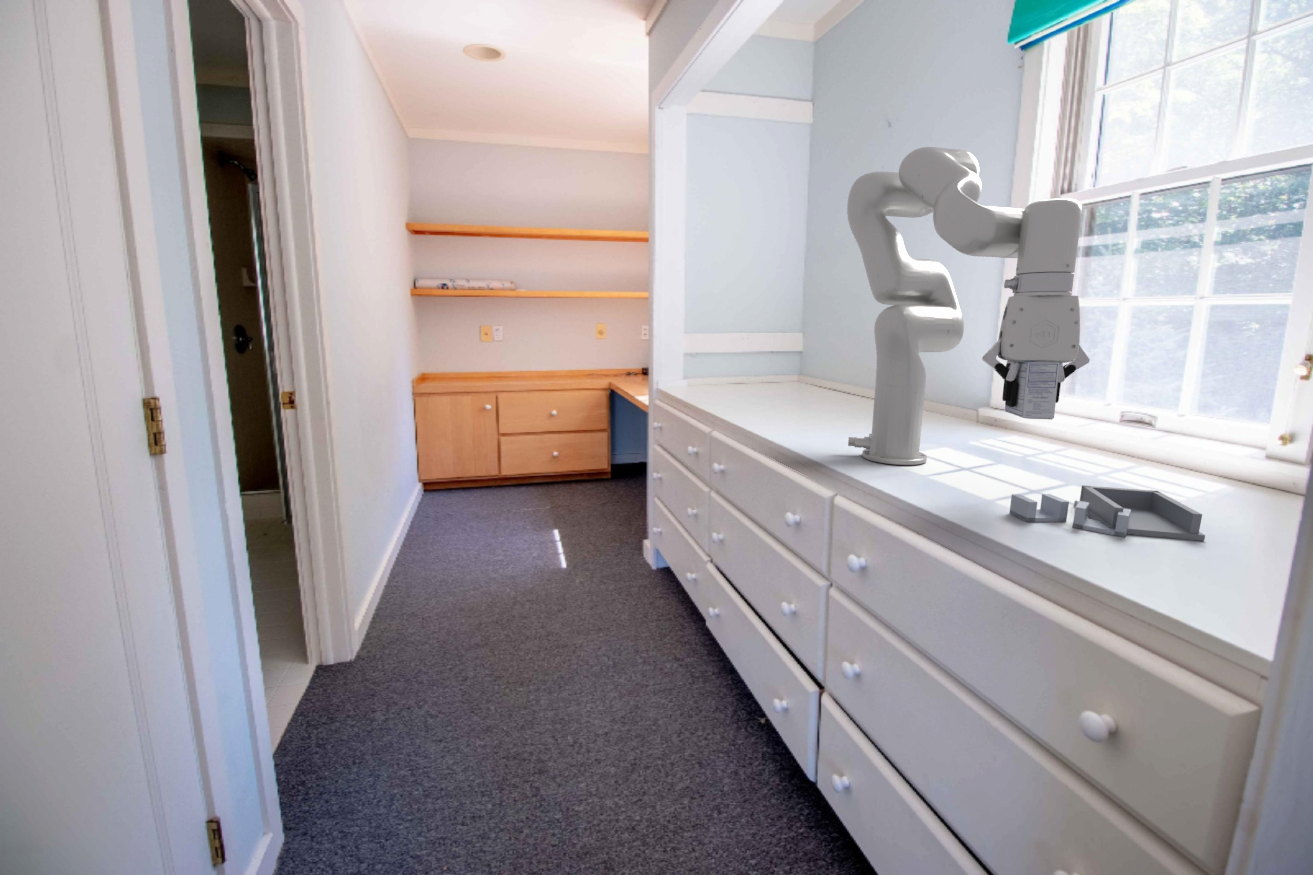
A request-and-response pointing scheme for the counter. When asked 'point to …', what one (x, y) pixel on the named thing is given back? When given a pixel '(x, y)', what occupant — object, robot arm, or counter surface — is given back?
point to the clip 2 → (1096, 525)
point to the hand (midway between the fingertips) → (1029, 405)
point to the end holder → (1143, 512)
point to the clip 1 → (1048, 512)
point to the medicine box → (1036, 390)
